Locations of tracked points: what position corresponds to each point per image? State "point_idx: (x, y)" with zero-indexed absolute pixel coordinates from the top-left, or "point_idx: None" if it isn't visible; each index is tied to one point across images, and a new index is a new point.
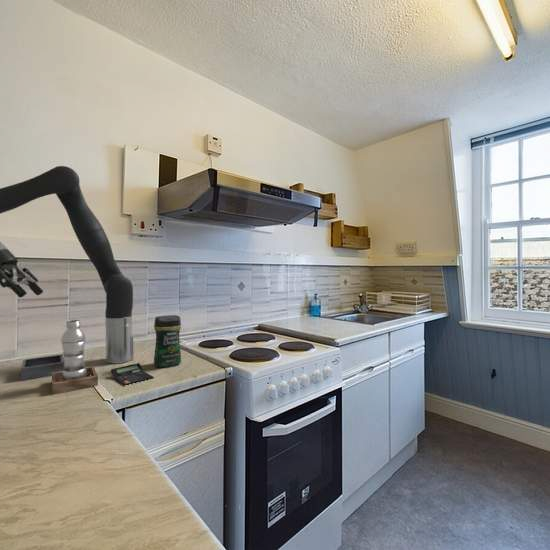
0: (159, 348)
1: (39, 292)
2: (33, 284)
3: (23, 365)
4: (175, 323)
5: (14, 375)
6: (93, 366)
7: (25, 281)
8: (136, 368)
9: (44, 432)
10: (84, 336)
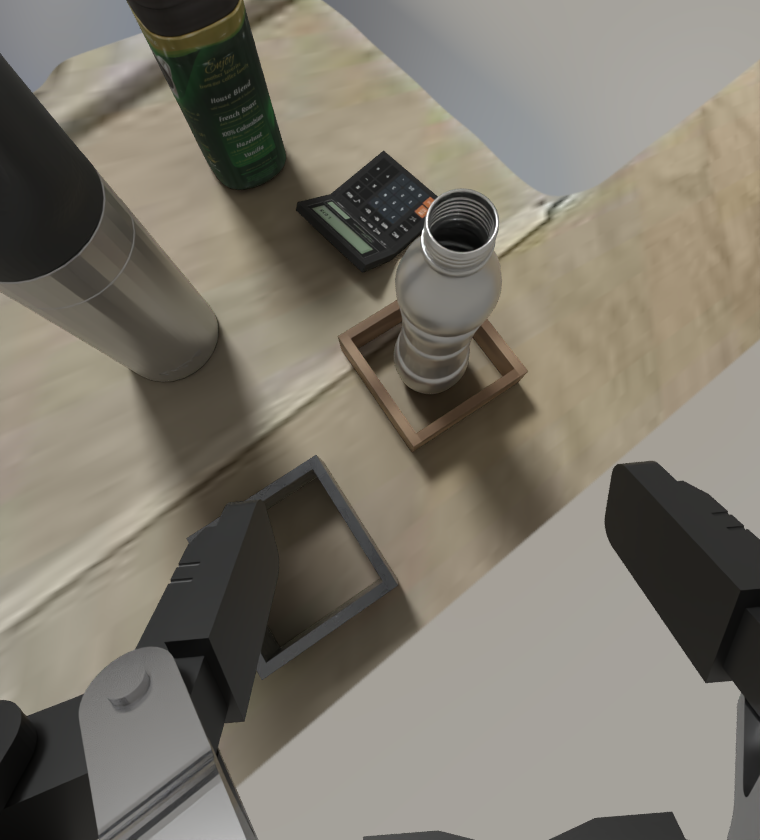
0: (264, 103)
1: (266, 534)
2: (220, 654)
3: (354, 608)
4: None
5: (332, 659)
6: (342, 333)
7: (255, 837)
8: (327, 209)
9: (729, 264)
10: (440, 231)
